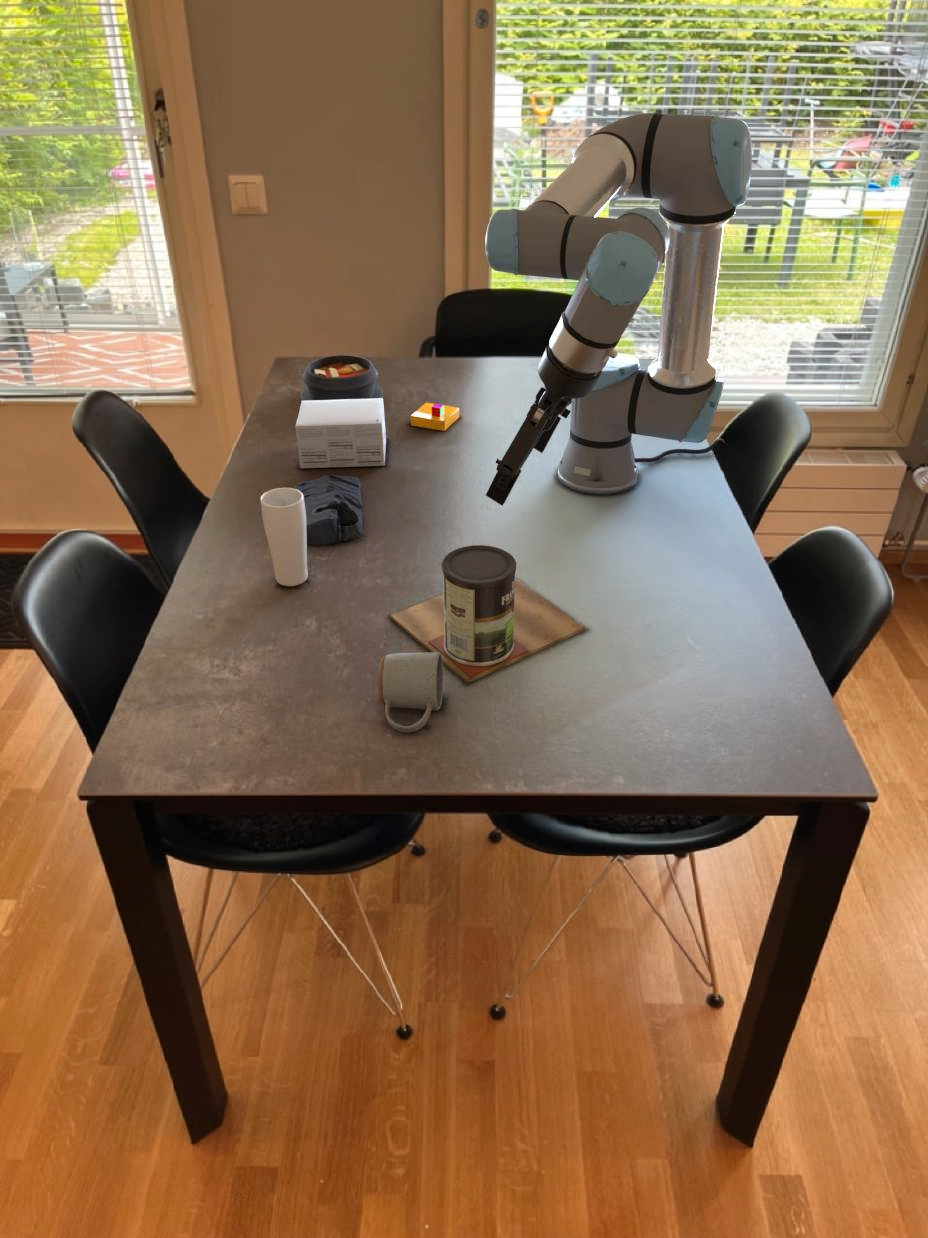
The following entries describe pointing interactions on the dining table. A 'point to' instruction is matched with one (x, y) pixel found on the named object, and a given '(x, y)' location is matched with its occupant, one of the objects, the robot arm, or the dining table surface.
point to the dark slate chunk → (332, 509)
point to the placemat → (532, 632)
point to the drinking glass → (286, 534)
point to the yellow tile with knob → (435, 416)
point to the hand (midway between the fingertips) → (515, 472)
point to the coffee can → (478, 604)
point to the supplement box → (341, 433)
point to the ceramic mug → (411, 684)
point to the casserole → (340, 379)
